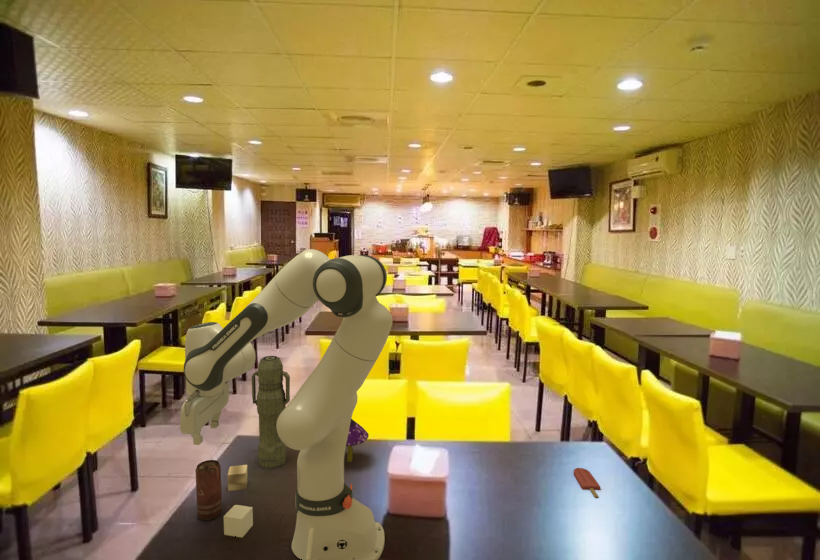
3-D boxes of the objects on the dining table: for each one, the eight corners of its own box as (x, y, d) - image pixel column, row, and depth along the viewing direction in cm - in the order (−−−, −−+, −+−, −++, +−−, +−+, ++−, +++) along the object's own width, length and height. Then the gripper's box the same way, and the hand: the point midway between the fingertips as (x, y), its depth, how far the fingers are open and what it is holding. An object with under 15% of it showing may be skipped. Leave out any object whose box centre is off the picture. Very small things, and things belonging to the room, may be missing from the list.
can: (214, 522, 121) (212, 472, 119) (192, 519, 122) (190, 469, 120) (227, 509, 127) (225, 460, 125) (206, 505, 128) (204, 457, 126)
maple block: (247, 480, 141) (247, 464, 141) (246, 489, 136) (245, 473, 136) (230, 482, 140) (229, 466, 139) (228, 491, 135) (227, 475, 135)
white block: (253, 525, 120) (252, 507, 120) (242, 537, 115) (241, 519, 115) (235, 522, 121) (234, 504, 121) (224, 535, 116) (223, 516, 116)
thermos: (289, 468, 148) (287, 361, 144) (251, 469, 147) (248, 362, 143) (293, 454, 157) (291, 353, 153) (257, 456, 156) (254, 354, 152)
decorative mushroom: (328, 455, 157) (328, 412, 155) (365, 450, 160) (365, 409, 158) (332, 474, 145) (331, 428, 143) (371, 469, 148) (372, 424, 146)
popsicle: (587, 494, 134) (570, 467, 149) (587, 499, 134) (570, 471, 149) (606, 494, 134) (587, 467, 148) (605, 499, 134) (587, 472, 149)
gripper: (198, 399, 110) (200, 455, 111) (232, 372, 130) (233, 419, 132) (171, 398, 110) (173, 454, 112) (210, 371, 130) (211, 418, 132)
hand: (206, 435), depth 122 cm, fingers open, 8 cm apart
